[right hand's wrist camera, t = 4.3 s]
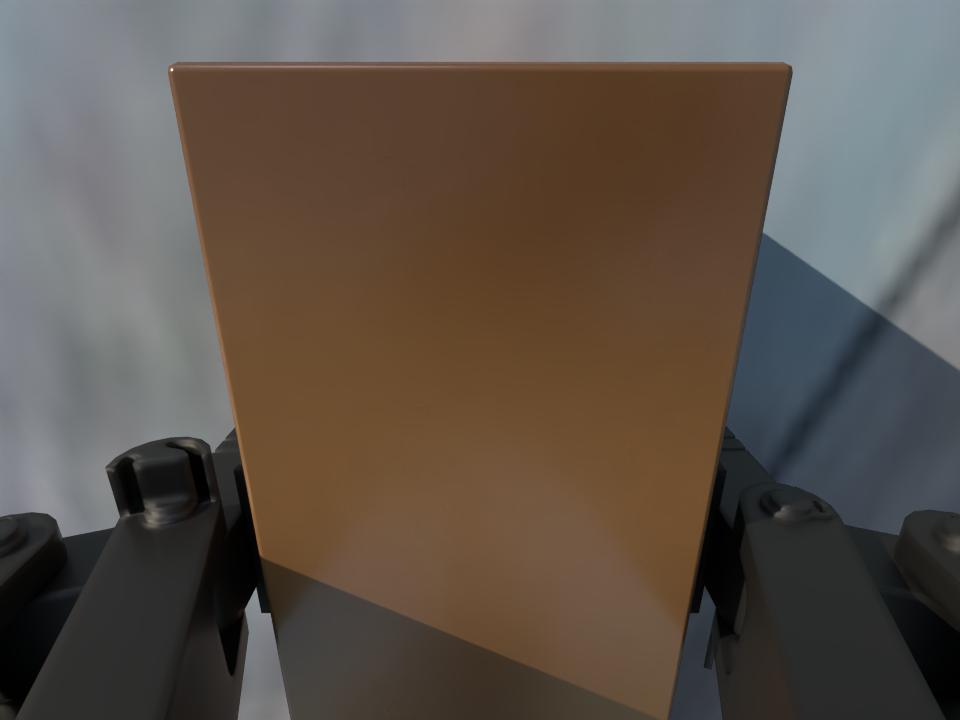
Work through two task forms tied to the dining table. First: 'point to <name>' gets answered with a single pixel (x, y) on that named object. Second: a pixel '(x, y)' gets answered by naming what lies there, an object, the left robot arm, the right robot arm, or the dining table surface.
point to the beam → (480, 363)
